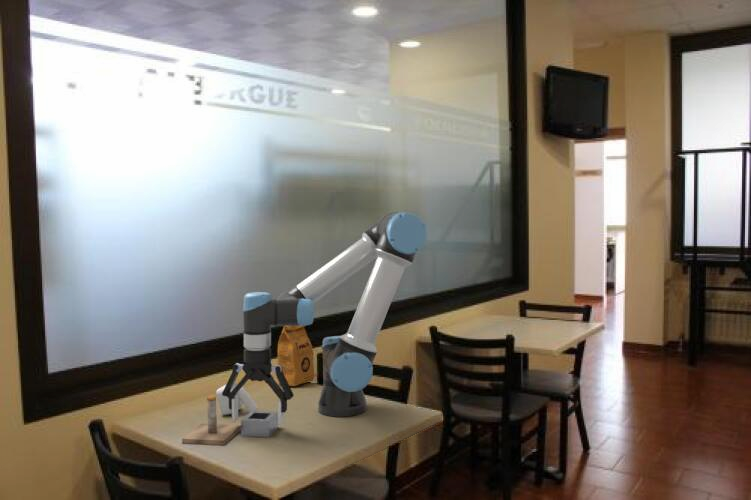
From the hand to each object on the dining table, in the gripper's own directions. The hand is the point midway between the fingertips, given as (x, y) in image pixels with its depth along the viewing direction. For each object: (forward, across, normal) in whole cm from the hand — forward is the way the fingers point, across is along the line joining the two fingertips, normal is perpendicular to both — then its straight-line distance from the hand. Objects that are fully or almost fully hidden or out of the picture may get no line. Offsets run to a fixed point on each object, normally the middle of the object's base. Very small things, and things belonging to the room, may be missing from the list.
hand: (257, 422), depth 175 cm
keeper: (+3, +11, +5) cm, 13 cm away
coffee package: (+3, +4, -49) cm, 49 cm away
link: (+3, -1, 0) cm, 3 cm away
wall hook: (+3, +11, -15) cm, 19 cm away
